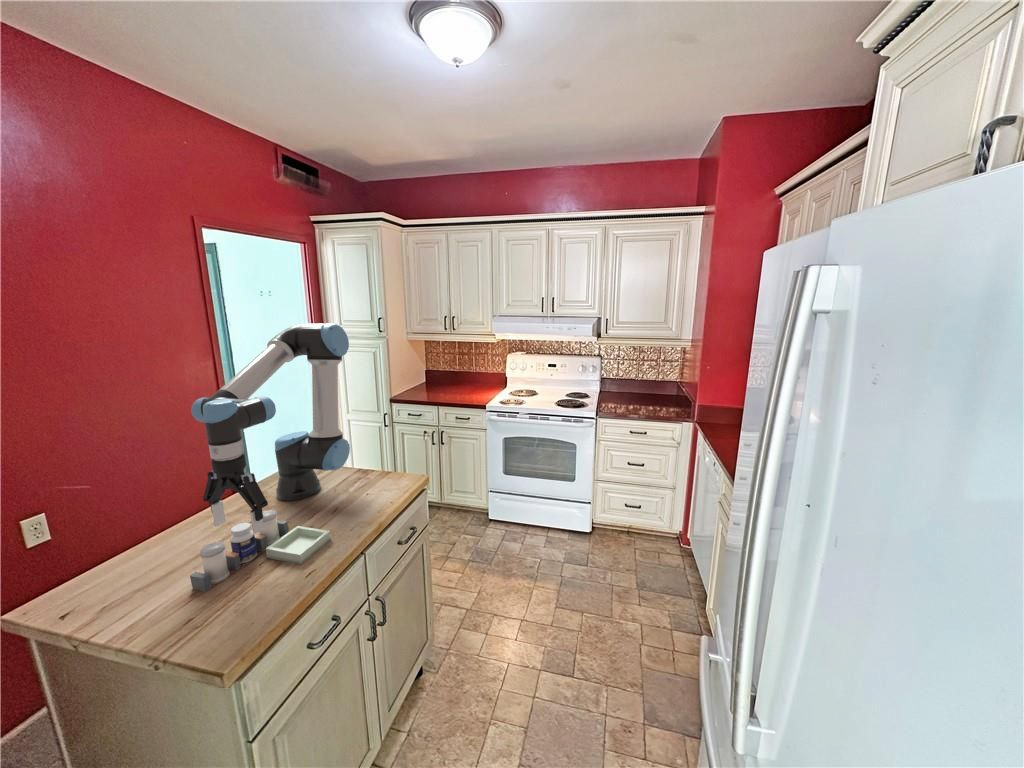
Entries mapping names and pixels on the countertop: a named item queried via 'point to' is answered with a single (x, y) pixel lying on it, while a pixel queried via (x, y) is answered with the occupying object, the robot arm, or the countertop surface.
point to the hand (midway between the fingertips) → (239, 527)
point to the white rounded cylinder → (215, 562)
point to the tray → (298, 544)
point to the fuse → (270, 527)
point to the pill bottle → (243, 542)
